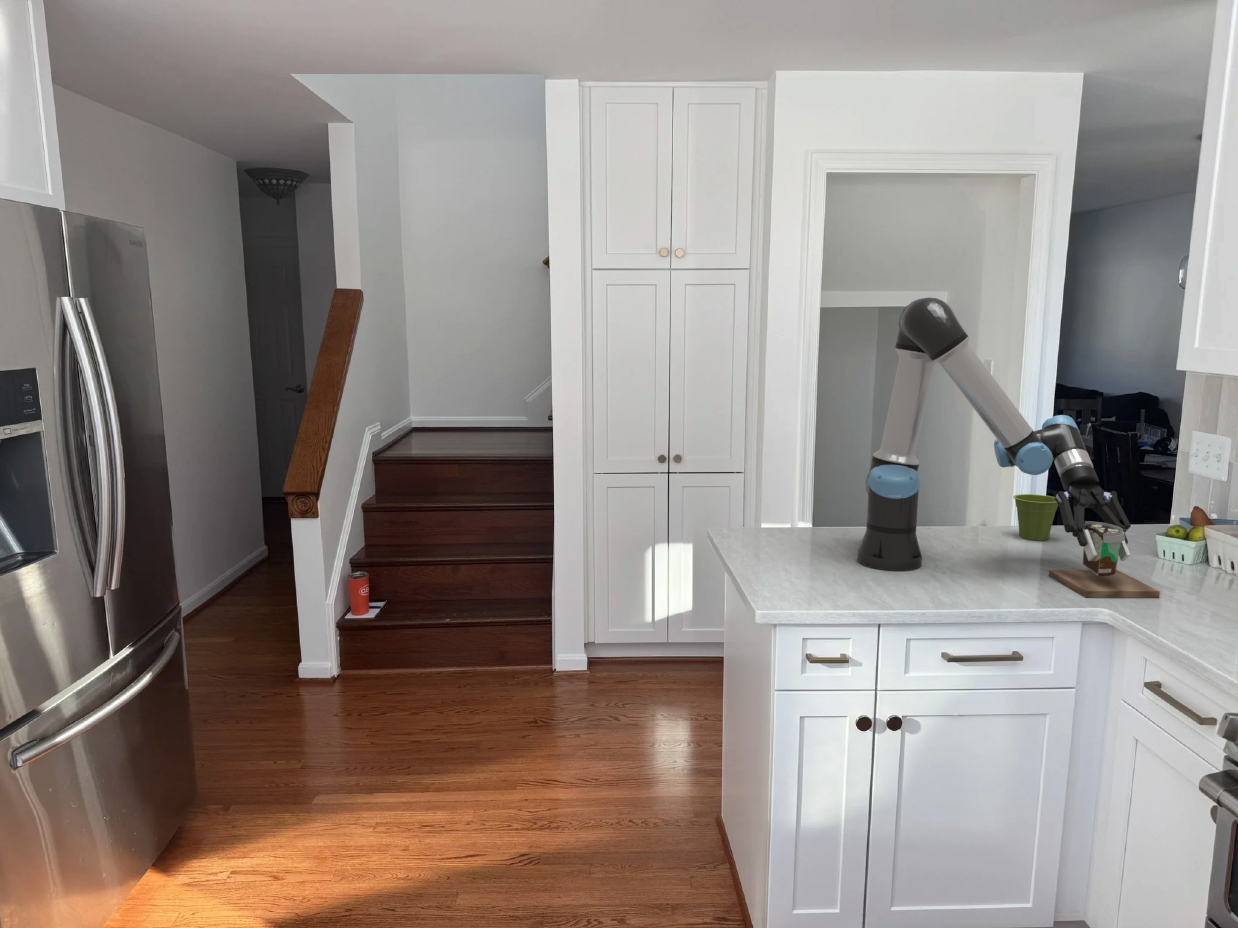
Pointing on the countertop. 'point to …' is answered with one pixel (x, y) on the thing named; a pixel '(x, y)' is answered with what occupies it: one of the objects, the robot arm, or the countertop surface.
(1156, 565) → the countertop surface
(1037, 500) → the plant pot
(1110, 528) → the food container
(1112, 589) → the walnut board
